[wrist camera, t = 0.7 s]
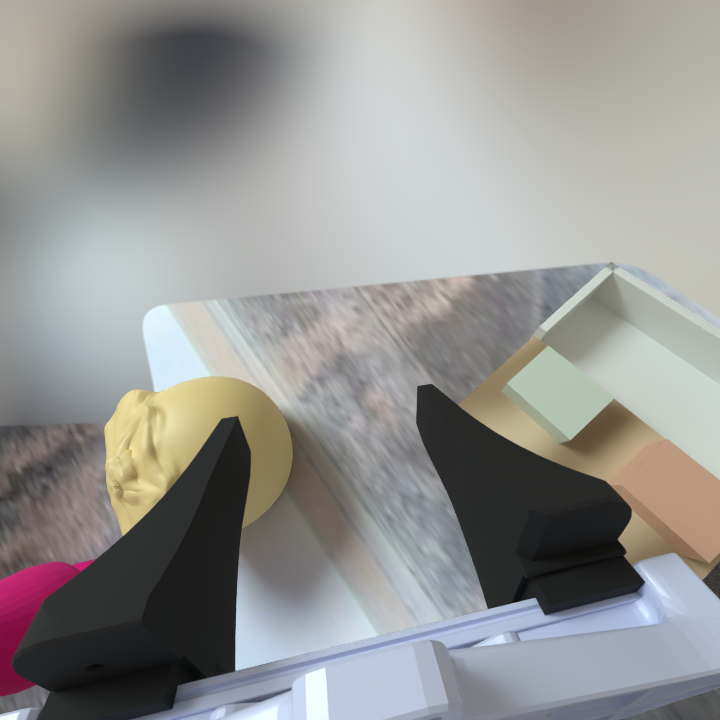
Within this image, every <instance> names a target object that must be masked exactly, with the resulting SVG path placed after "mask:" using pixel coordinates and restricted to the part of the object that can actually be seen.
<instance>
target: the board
mask: <svg viewBox="0 0 720 720" xmlns="http://www.w3.org/2000/svg"><path fill="white" fill-rule="evenodd" d="M546 347H547V345H545V344H544V343H543V342H542V341H540V340H539V339H538V338H536V337H535V336H534V337H533V338H532V339H531V340H529V341H528V342H527V343H526V344H525V345H524V346H523V347H522V348H521V349H519V350H518V351H517V352H516V353H515V354H514V355H513V356H512V357H511V358H510V359H508V360H507V361H506V362H505V363H504V364H503V365H502V366H501V367H500V368H498V369H497V370H496V371H495V372H494V373H493V374H492V375H491V376H490V377H488V378H487V379H486V380H485V381H484V382H483V383H482V384H481V385H480V386H478V387H477V388H476V389H475V390H474V391H473V392H472V393H471V394H470V395H468V396H467V397H466V398H465V399H464V400H463V401H462V402H461V403H460V404H459V405H458V406H460V407H461V408H462V409H463V410H465V411H466V412H467V413H469V414H470V415H471V416H473V417H474V418H475V419H477V420H478V421H480V422H481V423H483V424H484V425H486V426H487V427H489V428H490V429H492V430H493V431H495V432H496V433H498V434H500V435H501V436H503V437H505V438H507V439H508V440H510V441H512V442H514V443H516V444H517V445H519V446H521V447H523V448H525V449H527V450H529V451H531V452H533V453H535V454H537V455H540V456H542V457H544V458H546V459H549V460H551V461H553V462H556V463H558V464H561V465H563V466H565V467H568V468H570V469H573V470H576V471H579V472H582V473H585V474H588V475H590V476H593V477H596V478H599V479H602V480H605V481H606V482H608V481H609V480H610V479H611V478H612V477H613V476H614V475H615V474H616V473H617V472H618V471H619V470H620V469H621V468H622V467H623V466H624V465H625V464H626V463H627V462H628V461H629V460H630V459H631V458H632V457H633V456H634V455H636V454H637V453H638V452H639V451H640V450H641V449H642V448H643V447H644V446H645V445H646V444H647V443H650V442H655V441H661V440H666V439H665V438H664V437H662V436H661V435H660V434H658V433H657V432H656V431H655V430H653V429H652V428H651V427H650V426H648V425H647V424H646V423H645V422H643V421H642V420H641V419H639V418H638V417H637V416H636V415H634V414H633V413H632V412H631V411H629V410H628V409H627V408H625V407H624V406H623V405H622V404H620V403H619V402H618V401H617V400H615V399H613V400H612V401H611V402H610V403H609V404H608V405H607V406H606V407H605V408H604V409H603V410H602V411H601V412H599V413H598V414H597V415H596V416H595V417H594V418H593V419H592V420H591V421H590V422H589V423H588V424H587V425H586V426H585V427H584V428H583V429H582V430H581V431H580V432H579V433H577V434H576V435H575V436H574V437H573V438H572V439H571V440H569V441H566V442H563V443H560V444H559V443H558V442H557V441H555V440H554V439H553V438H552V437H551V436H550V435H549V434H548V433H547V432H546V431H544V430H543V429H542V428H541V427H540V426H539V425H538V424H537V423H536V422H535V421H533V420H532V419H531V418H530V417H529V416H528V415H527V414H526V413H525V412H523V411H522V410H521V409H520V408H519V407H518V406H517V405H516V404H515V403H514V402H512V401H511V400H510V399H509V398H508V397H507V396H506V395H505V394H504V393H503V392H501V390H502V389H503V388H504V386H505V385H506V384H507V383H508V382H509V381H510V380H511V379H512V378H513V377H514V376H515V375H516V374H518V373H519V372H520V371H521V370H522V369H523V368H524V367H525V366H526V365H527V364H529V363H530V362H531V361H532V360H533V359H534V358H535V357H536V356H537V355H538V354H540V353H541V352H542V351H543V350H544V349H545V348H546ZM618 541H619V542H620V543H621V544H622V545H623V547H624V548H625V549H626V552H627V553H626V554H625V555H623V556H624V557H625V558H626V559H627V560H628V562H629V563H630V564H631V565H633V564H635V563H637V562H638V561H641V560H644V559H648V558H652V557H656V556H660V555H664V554H668V553H675V554H677V555H678V556H679V557H680V558H681V559H682V560H683V561H684V562H685V563H686V564H687V565H688V566H689V567H690V569H691V570H692V571H693V572H694V573H695V574H696V575H697V576H698V577H699V578H700V579H701V580H703V579H704V578H705V577H706V576H707V575H708V574H709V573H710V572H711V570H712V569H713V568H714V567H715V566H716V565H717V564H718V563H719V562H720V553H719V554H718V555H717V556H716V557H715V558H714V559H713V560H712V561H711V562H710V563H707V562H703V561H699V560H696V559H692V558H689V557H685V556H682V555H681V554H680V553H679V552H678V551H677V550H676V549H675V548H674V547H672V546H671V545H670V544H669V543H668V542H667V541H666V540H665V539H664V538H662V537H661V536H660V535H659V534H658V533H657V532H656V531H655V530H654V529H653V528H651V527H650V526H649V525H648V524H647V523H646V522H645V521H644V520H643V519H642V518H640V517H639V516H638V515H637V514H636V513H635V512H634V511H633V510H632V517H631V519H630V522H629V524H628V525H627V527H626V528H625V530H624V531H623V533H622V534H621V536H620V537H619V539H618Z"/></svg>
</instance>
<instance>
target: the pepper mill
mask: <svg viewBox="0 0 720 720" xmlns="http://www.w3.org/2000/svg"><path fill="white" fill-rule="evenodd" d="M95 560H96V559H94V560H90V561H85V562H81V563H77V564H74V565H70V564H67V563H64V562H49V563H44V564H41V565H37V566H34V567H30V568H27V569H24V570H22V571H20V572H18V573H15V574H13V575H11V576H9V577H7V578H5V579H3V580H1V581H0V697H1V696H6V695H11V694H14V693H18V692H20V691H23V690H25V689H28V688H30V687H32V686H35V685H37V684H34V683H32V682H30V681H28V680H26V679H24V678H22V677H21V676H19V675H18V674H16V673H15V672H14V670H13V667H12V665H11V660H12V658H13V655H14V654H15V652H16V650H17V648H18V646H19V644H20V643H21V641H22V639H23V637H24V635H25V633H26V632H27V630H28V628H29V626H30V624H31V622H32V620H33V619H34V617H35V615H36V613H37V611H38V610H39V608H40V606H41V605H42V603H43V601H44V600H45V598H47V597H48V596H49V595H51V594H52V593H54V592H55V591H56V590H57V589H59V588H60V587H61V586H63V585H64V584H65V583H67V582H68V581H69V580H71V579H72V578H73V577H75V576H76V575H77V574H78V573H80V572H81V571H82V570H84V569H85V568H86V567H87V566H89V565H90V564H91V563H92V562H94V561H95Z"/></svg>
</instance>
